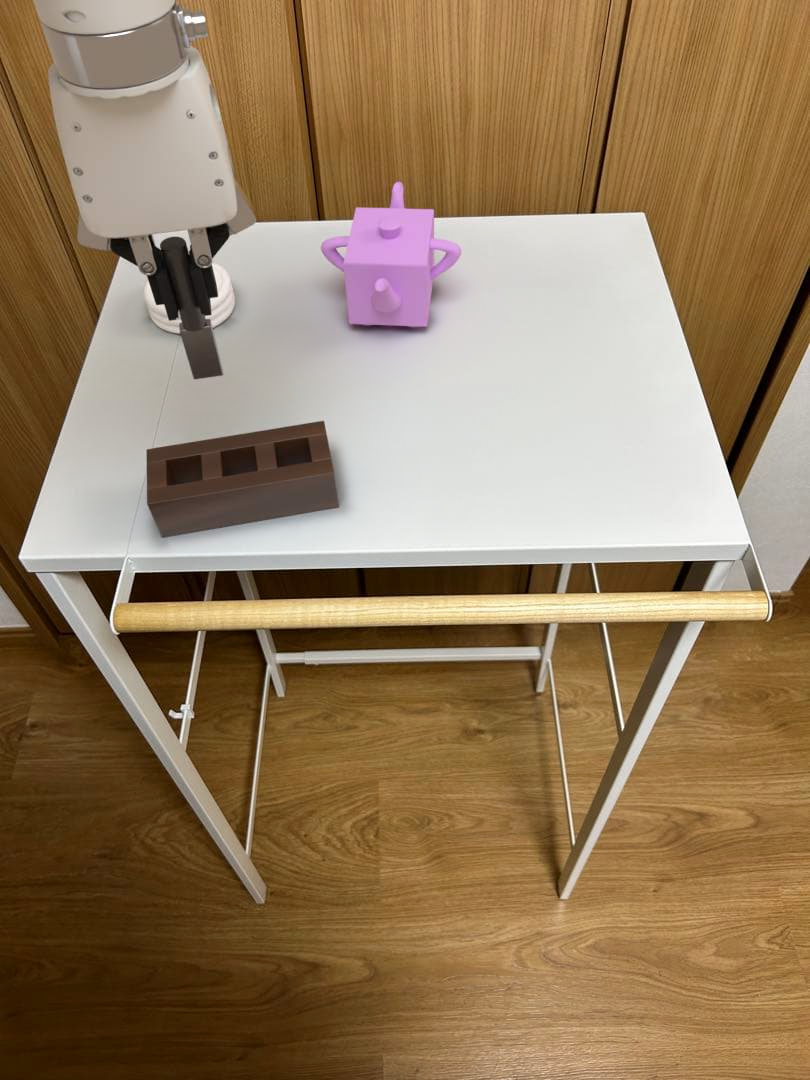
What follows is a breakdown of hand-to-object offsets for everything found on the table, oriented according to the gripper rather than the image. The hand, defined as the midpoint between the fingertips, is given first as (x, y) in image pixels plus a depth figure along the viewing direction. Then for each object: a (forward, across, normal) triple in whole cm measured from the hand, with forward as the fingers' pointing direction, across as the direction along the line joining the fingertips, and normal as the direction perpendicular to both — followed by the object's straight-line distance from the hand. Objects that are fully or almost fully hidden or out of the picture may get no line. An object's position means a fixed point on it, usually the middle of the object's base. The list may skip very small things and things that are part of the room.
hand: (189, 305), depth 62 cm
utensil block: (+22, -1, 0) cm, 22 cm away
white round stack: (+23, +3, -30) cm, 38 cm away
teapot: (+22, -20, -25) cm, 39 cm away
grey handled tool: (+7, 0, 0) cm, 7 cm away
